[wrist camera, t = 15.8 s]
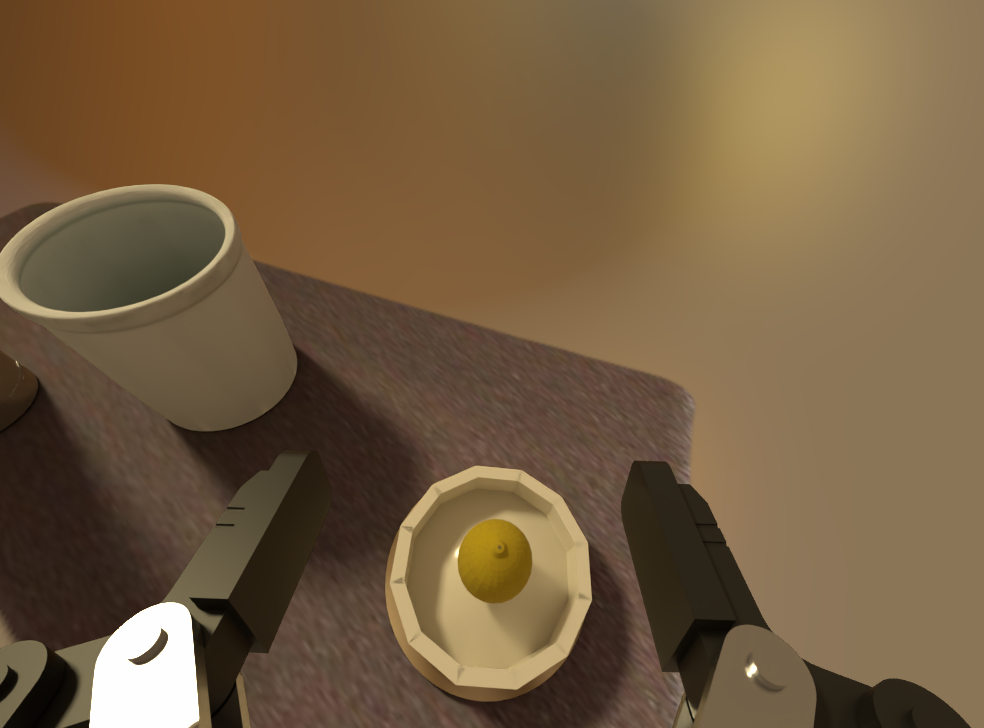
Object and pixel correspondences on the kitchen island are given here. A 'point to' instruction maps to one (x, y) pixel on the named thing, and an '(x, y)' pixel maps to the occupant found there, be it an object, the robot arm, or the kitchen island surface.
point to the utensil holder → (156, 301)
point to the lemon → (495, 561)
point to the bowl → (480, 625)
